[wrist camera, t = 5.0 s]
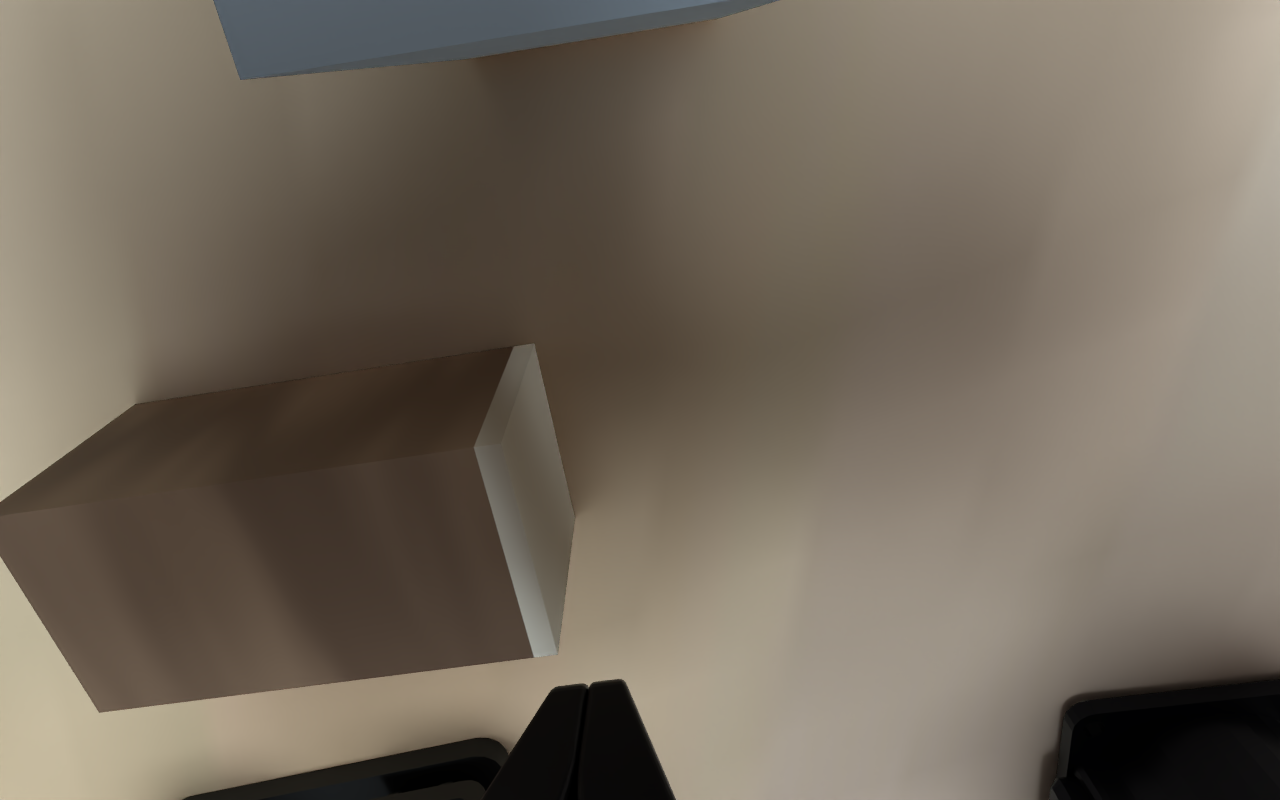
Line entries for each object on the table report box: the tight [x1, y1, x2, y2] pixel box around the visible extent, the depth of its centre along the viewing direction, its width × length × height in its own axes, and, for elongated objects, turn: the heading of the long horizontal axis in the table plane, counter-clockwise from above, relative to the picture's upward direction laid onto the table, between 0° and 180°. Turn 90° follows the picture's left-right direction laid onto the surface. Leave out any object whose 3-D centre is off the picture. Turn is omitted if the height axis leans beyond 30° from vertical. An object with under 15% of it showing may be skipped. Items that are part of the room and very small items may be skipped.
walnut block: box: [0, 343, 575, 713], centre depth 14 cm, size 4×4×8 cm
